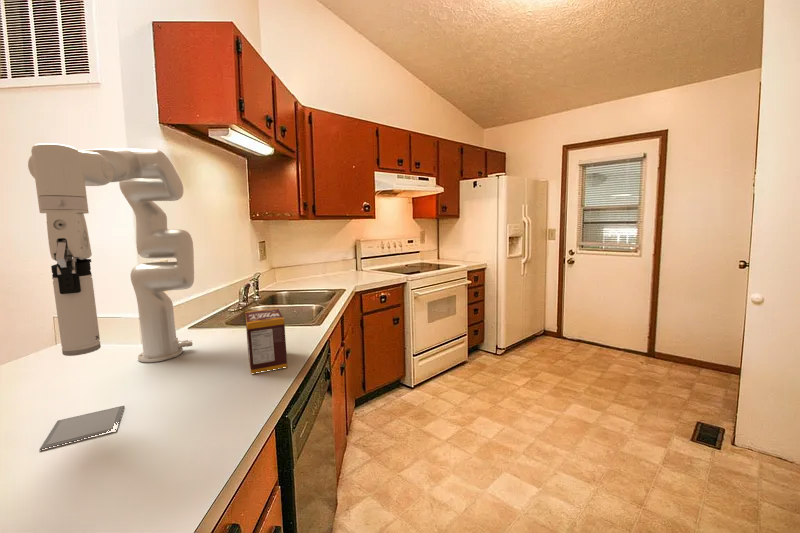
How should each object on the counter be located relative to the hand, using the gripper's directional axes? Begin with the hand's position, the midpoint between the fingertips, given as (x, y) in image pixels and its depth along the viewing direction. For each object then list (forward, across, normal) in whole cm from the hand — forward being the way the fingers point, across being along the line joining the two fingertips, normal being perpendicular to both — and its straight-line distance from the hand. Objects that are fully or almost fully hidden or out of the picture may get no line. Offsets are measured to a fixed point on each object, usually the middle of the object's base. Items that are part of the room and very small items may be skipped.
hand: (75, 290), depth 76 cm
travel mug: (+14, 0, 0) cm, 14 cm away
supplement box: (+30, +14, -40) cm, 52 cm away
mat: (+30, -2, +1) cm, 30 cm away
